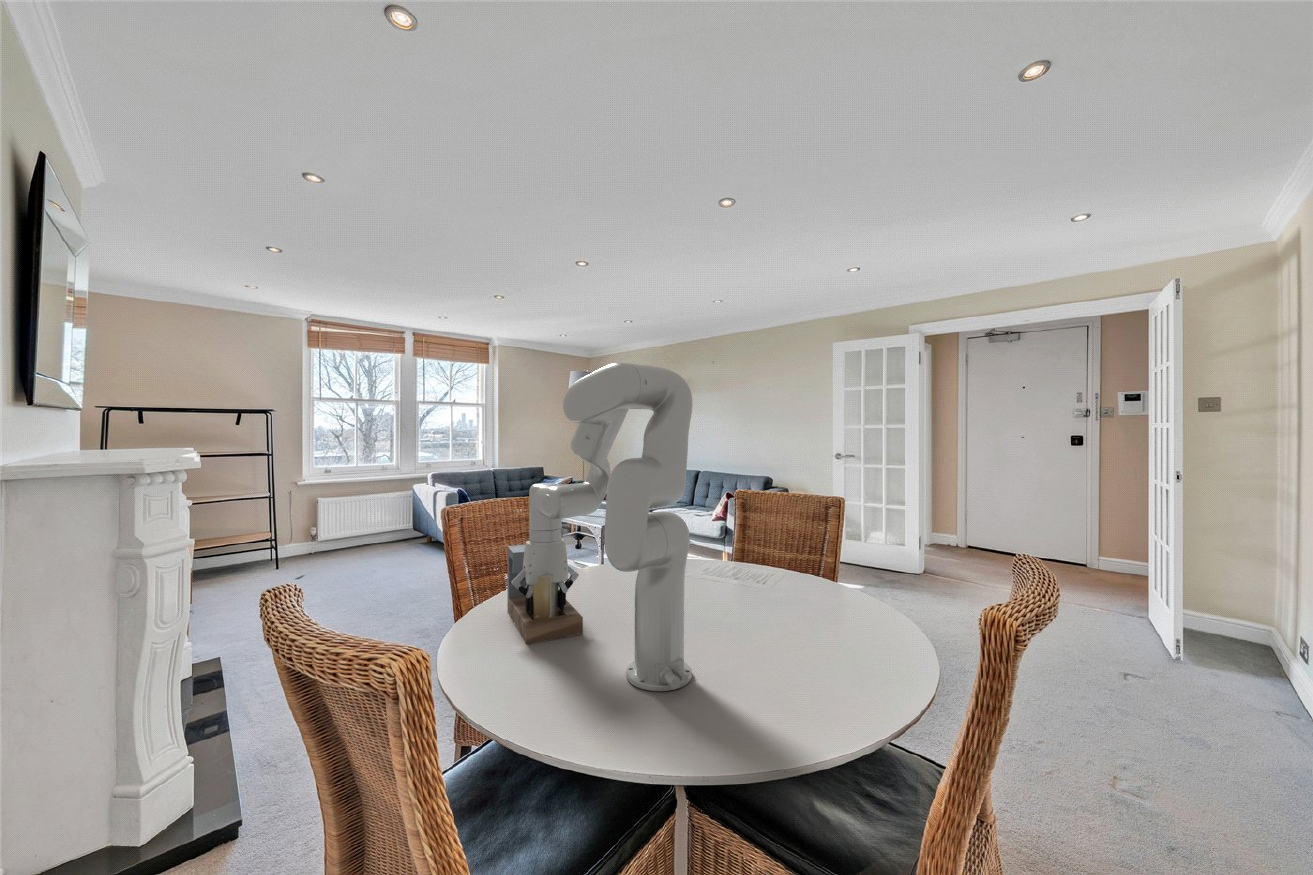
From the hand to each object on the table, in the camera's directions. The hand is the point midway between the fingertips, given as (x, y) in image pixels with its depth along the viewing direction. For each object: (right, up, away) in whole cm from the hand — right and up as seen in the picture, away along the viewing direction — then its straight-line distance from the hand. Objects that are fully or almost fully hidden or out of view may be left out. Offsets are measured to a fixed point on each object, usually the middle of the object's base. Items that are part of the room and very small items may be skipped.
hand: (545, 610), depth 125 cm
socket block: (-1, -4, +4) cm, 6 cm away
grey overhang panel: (-5, -4, +11) cm, 13 cm away
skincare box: (0, -3, 0) cm, 3 cm away
